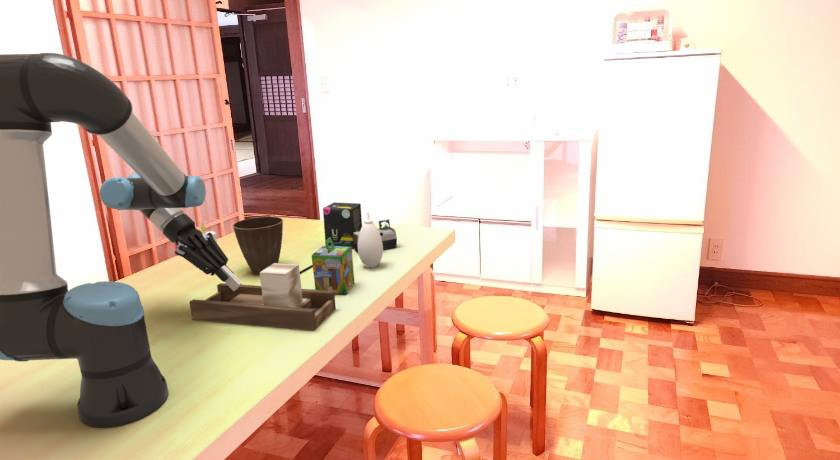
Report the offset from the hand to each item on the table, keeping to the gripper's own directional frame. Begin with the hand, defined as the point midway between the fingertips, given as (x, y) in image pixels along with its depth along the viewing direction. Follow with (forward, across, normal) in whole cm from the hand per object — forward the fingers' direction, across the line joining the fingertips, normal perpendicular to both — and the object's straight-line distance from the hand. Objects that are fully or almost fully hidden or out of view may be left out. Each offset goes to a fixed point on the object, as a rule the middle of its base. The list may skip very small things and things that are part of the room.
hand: (238, 287), depth 142 cm
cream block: (+12, 0, +6) cm, 13 cm away
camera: (+17, -56, +7) cm, 59 cm away
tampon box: (+8, -60, -3) cm, 61 cm away
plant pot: (-3, -30, -13) cm, 33 cm away
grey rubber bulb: (+20, -39, +10) cm, 45 cm away
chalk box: (+18, -20, +7) cm, 28 cm away
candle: (-18, -33, -29) cm, 47 cm away
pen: (+7, -32, -4) cm, 33 cm away
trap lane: (+9, 0, -1) cm, 9 cm away
